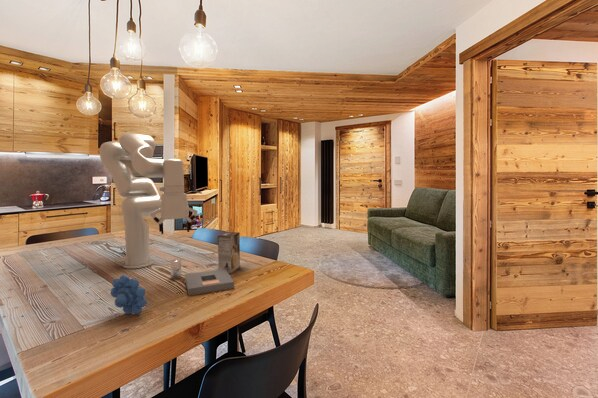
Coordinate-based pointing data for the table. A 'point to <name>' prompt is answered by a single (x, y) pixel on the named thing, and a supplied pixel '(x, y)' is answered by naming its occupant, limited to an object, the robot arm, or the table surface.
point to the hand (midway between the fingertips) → (175, 232)
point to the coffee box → (229, 251)
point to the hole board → (208, 281)
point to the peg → (175, 268)
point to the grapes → (128, 294)
